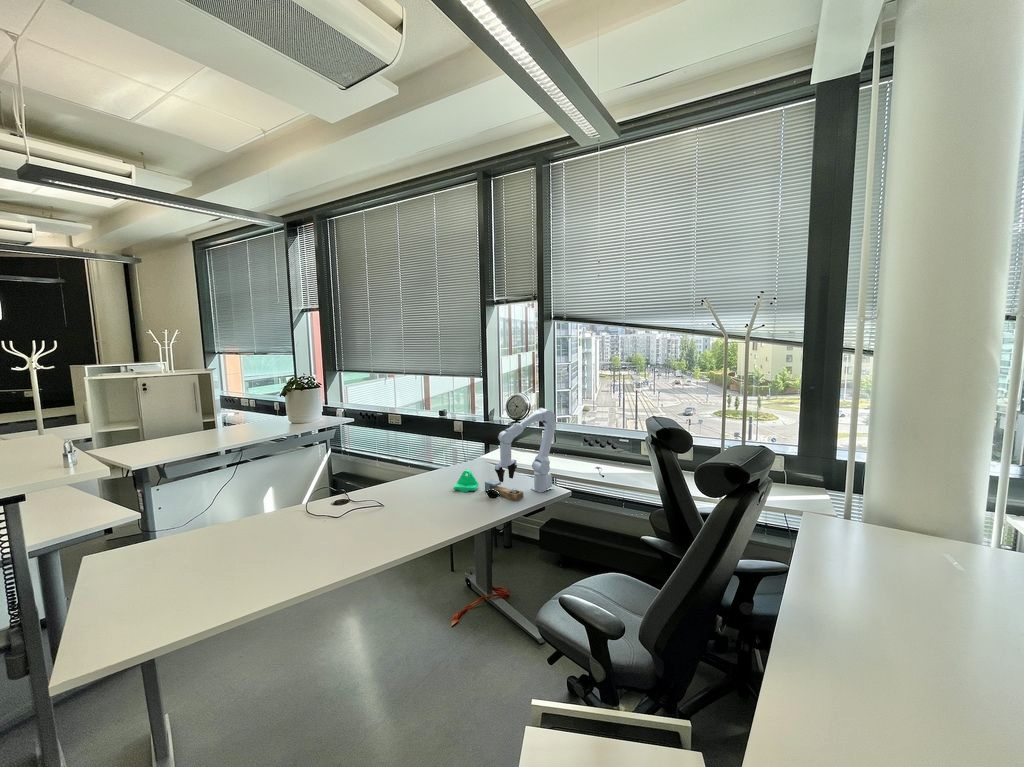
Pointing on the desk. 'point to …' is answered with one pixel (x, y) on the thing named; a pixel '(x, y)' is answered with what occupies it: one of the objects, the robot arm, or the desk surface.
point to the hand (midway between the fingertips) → (506, 479)
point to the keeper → (491, 484)
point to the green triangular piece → (466, 482)
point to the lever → (508, 493)
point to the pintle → (514, 491)
